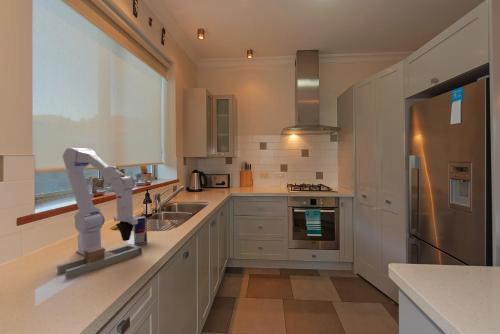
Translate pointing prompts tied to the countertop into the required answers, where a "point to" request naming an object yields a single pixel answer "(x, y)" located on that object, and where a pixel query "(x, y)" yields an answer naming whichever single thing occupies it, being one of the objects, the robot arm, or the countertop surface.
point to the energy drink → (140, 231)
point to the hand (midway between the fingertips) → (126, 240)
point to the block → (95, 254)
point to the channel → (98, 261)
